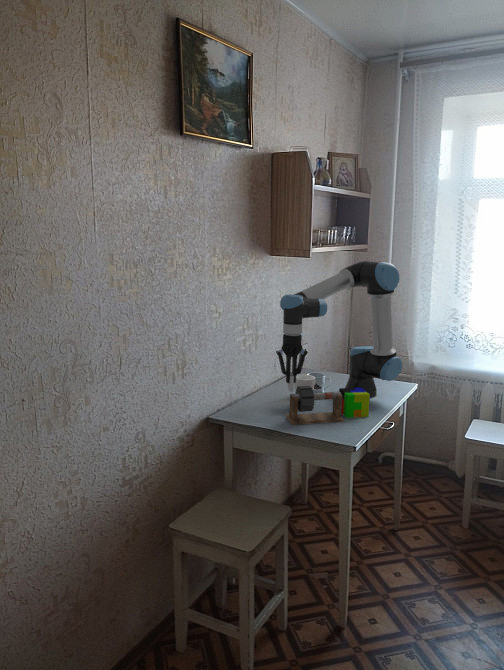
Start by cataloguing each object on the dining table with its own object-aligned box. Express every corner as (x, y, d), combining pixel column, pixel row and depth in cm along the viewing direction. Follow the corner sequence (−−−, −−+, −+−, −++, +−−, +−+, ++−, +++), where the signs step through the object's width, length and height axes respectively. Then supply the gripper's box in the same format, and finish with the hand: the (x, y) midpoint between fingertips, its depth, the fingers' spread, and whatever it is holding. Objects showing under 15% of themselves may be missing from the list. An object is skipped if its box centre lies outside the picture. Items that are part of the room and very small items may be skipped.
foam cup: (312, 409, 240) (314, 380, 237) (292, 407, 242) (292, 379, 239) (314, 402, 249) (315, 375, 246) (294, 401, 251) (295, 373, 248)
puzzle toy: (359, 409, 241) (361, 387, 239) (368, 416, 232) (369, 394, 230) (338, 410, 240) (339, 388, 238) (346, 417, 230) (347, 395, 228)
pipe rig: (336, 414, 233) (337, 388, 231) (343, 421, 225) (345, 395, 223) (286, 417, 229) (287, 391, 227) (292, 424, 220) (293, 397, 218)
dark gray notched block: (306, 406, 230) (307, 383, 228) (313, 413, 221) (314, 390, 219) (295, 406, 229) (295, 383, 227) (302, 414, 220) (302, 390, 218)
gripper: (305, 331, 223) (303, 387, 227) (274, 332, 220) (272, 388, 224) (310, 335, 215) (308, 392, 220) (279, 336, 213) (277, 394, 217)
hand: (290, 390), depth 222 cm, fingers closed
